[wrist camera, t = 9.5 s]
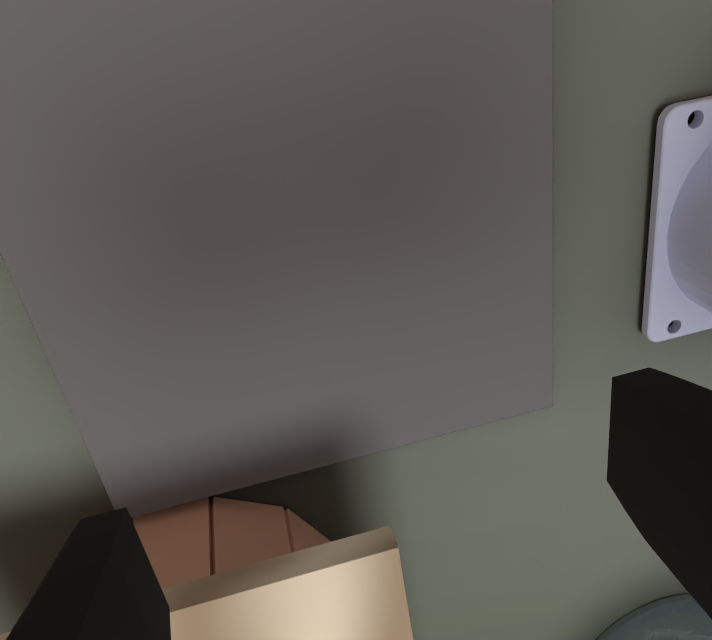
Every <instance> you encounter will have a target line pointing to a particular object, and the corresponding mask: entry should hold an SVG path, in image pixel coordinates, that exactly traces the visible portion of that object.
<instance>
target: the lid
mask: <svg viewBox="0 0 712 640" xmlns="http://www.w3.org/2000/svg"><path fill="white" fill-rule="evenodd" d="M162 591H163V593H164V596H165V598H166V600H167V603H168V605H169V608H170V627H171V640H413V635H412V629H411V623H410V617H409V611H408V605H407V598H406V592H405V586H404V580H403V574H402V568H401V562H400V556H399V549H398V546H397V543H396V540H395V537H394V535H393V532H392V529H391V527H390V525H389V526H386V527H382V528H378V529H375V530H371V531H368V532H364V533H361V534H357V535H353V536H350V537H346V538H343V539H339V540H336V541H332V542H328V543H325V544H321V545H318V546H314V547H311V548H307V549H303V550H300V551H296V552H293V553H289V554H285V555H282V556H278V557H275V558H271V559H268V560H264V561H260V562H257V563H253V564H250V565H246V566H243V567H239V568H235V569H232V570H228V571H225V572H221V573H218V574H214V575H210V576H207V577H203V578H200V579H196V580H193V581H189V582H185V583H182V584H178V585H175V586H171V587H167V588H164V589H162ZM10 632H11V631H10ZM10 632H7V633H3V634H0V640H6V638H7V637H8V635H9V634H10Z"/></svg>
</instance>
